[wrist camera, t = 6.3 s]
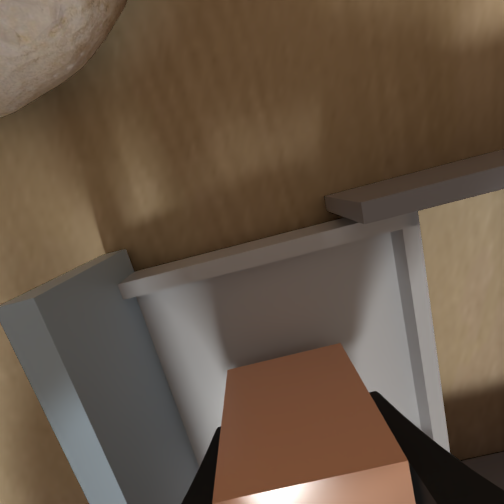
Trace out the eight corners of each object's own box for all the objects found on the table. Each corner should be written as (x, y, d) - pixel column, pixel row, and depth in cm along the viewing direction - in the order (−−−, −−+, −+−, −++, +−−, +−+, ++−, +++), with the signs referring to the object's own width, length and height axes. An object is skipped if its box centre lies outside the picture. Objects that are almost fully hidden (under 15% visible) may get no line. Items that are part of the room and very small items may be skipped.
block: (256, 460, 13) (260, 634, 8) (227, 370, 12) (212, 503, 7) (360, 437, 12) (432, 600, 8) (340, 343, 11) (408, 460, 7)
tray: (207, 528, 15) (187, 703, 10) (102, 254, 12) (-7, 308, 7) (436, 480, 15) (536, 639, 10) (390, 179, 12) (506, 176, 6)
